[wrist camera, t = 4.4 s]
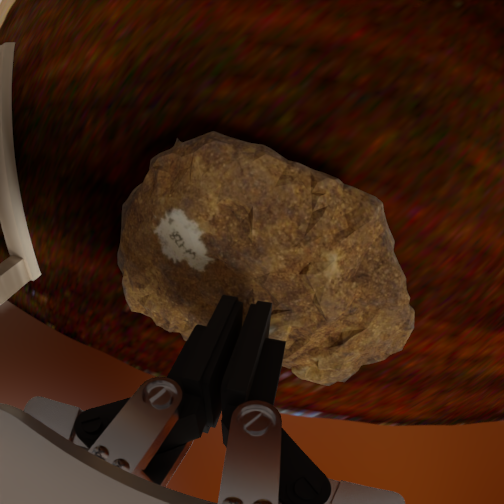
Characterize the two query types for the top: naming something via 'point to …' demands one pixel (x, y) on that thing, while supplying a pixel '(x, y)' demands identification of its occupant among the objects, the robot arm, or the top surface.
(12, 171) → the trapdoor stand
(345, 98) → the top surface
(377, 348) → the decorative rock
